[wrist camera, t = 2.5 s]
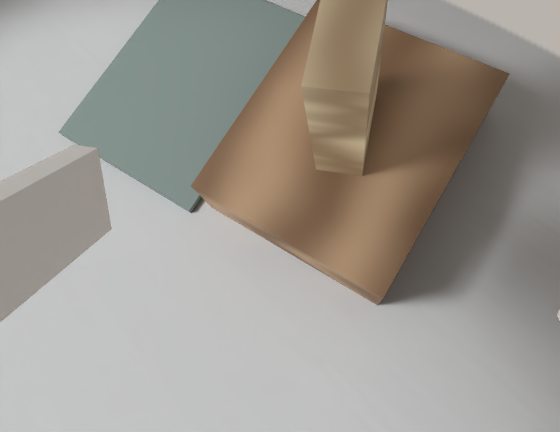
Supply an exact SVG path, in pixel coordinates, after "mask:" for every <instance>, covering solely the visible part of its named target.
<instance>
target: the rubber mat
mask: <svg viewBox="0 0 560 432" xmlns="http://www.w3.org/2000/svg"><path fill="white" fill-rule="evenodd" d="M304 19H305V17H304V16H301V15H299V14H296V13H294V12H292V11H289V10H287V9H284V8H282V7H279V6H277V5H275V4H272V3H270V2H267V1H265V0H159V1H158V2H157V3H156V5H155V6H154V7H153V9H152V10H151V11H150V13H149V14H148V15H147V16H146V18H145V19H144V20H143V22H142V23H141V24H140V26H139V27H138V28H137V30H136V31H135V32H134V34H133V35H132V36H131V38H130V39H129V40H128V41H127V43H126V44H125V45H124V47H123V48H122V49H121V51H120V52H119V53H118V55H117V56H116V57H115V59H114V60H113V61H112V63H111V64H110V65H109V66H108V68H107V69H106V70H105V72H104V73H103V74H102V76H101V77H100V78H99V80H98V81H97V82H96V84H95V85H94V86H93V88H92V89H91V90H90V91H89V93H88V94H87V95H86V97H85V98H84V99H83V101H82V102H81V103H80V105H79V106H78V107H77V109H76V110H75V111H74V113H73V114H72V115H71V116H70V118H69V119H68V120H67V122H66V123H65V124H64V126H63V127H62V128H61V130H60V131H59V133H60V134H62V135H63V136H65V137H67V138H68V139H70V140H72V141H73V142H75V143H77V144H78V145H81V146H87V147H94V148H98V152H99V157H100V158H101V159H103V160H105V161H106V162H108V163H110V164H111V165H113V166H115V167H116V168H118V169H120V170H121V171H123V172H124V173H126V174H128V175H129V176H131V177H133V178H134V179H136V180H138V181H139V182H141V183H143V184H144V185H146V186H148V187H149V188H151V189H153V190H154V191H156V192H158V193H159V194H161V195H163V196H164V197H166V198H167V199H169V200H171V201H172V202H174V203H176V204H177V205H179V206H181V207H182V208H184V209H186V210H187V211H189V212H192V211H193V209H194V208H195V206H196V205H197V203H198V202H199V200H200V199H201V196H200V195H199V194H198V193H197V192H196V191H195V190H194V189H193V188H192V187H191V185H192V183H193V182H194V180H195V179H196V177H197V176H198V174H199V173H200V171H201V170H202V168H203V167H204V165H205V164H206V163H207V161H208V160H209V158H210V157H211V155H212V154H213V152H214V151H215V149H216V148H217V146H218V145H219V143H220V142H221V141H222V139H223V138H224V136H225V135H226V133H227V132H228V130H229V129H230V127H231V126H232V124H233V123H234V121H235V120H236V118H237V117H238V116H239V114H240V113H241V111H242V110H243V108H244V107H245V105H246V104H247V102H248V101H249V99H250V98H251V96H252V95H253V93H254V92H255V91H256V89H257V88H258V86H259V85H260V83H261V82H262V80H263V79H264V77H265V76H266V74H267V73H268V71H269V70H270V69H271V67H272V66H273V64H274V63H275V61H276V60H277V58H278V57H279V55H280V54H281V52H282V51H283V49H284V48H285V46H286V45H287V44H288V42H289V41H290V39H291V38H292V36H293V35H294V33H295V32H296V30H297V29H298V27H299V26H300V24H301V23H302V22H303V20H304Z"/></svg>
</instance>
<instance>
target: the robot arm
mask: <svg viewBox="0 0 560 432" xmlns="http://www.w3.org/2000/svg"><path fill="white" fill-rule="evenodd" d="M110 230H111V223H110V217H109V211H108V205H107V199H106V194H105V188H104V182H103V176H102V170H101V164H100V158H99V152H98V148H94V147H87V146H81V145H73V146H71V147H69V148H67V149H65V150H63V151H61V152H59V153H57V154H55V155H53V156H51V157H49V158H47V159H45V160H43V161H41V162H39V163H37V164H35V165H33V166H31V167H29V168H27V169H25V170H23V171H21V172H19V173H17V174H15V175H13V176H11V177H9V178H7V179H5V180H3V181H1V182H0V322H1V321H2V320H4V319H5V318H6V317H7V316H8V315H10V314H11V313H12V312H13V311H14V310H15V309H17V308H18V307H19V306H20V305H21V304H23V303H24V302H25V301H26V300H27V299H29V298H30V297H31V296H32V295H33V294H35V293H36V292H37V291H38V290H39V289H41V288H42V287H43V286H44V285H45V284H46V283H48V282H49V281H50V280H51V279H52V278H54V277H55V276H56V275H57V274H58V273H60V272H61V271H62V270H63V269H64V268H66V267H67V266H68V265H69V264H70V263H72V262H73V261H74V260H75V259H76V258H77V257H79V256H80V255H81V254H82V253H83V252H85V251H86V250H87V249H88V248H89V247H91V246H92V245H93V244H94V243H95V242H97V241H98V240H99V239H100V238H101V237H103V236H104V235H105V234H106V233H107V232H108V231H110ZM557 317H558V319H559V322H560V309H559V311H558V313H557Z"/></svg>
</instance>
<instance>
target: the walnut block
mask: <svg viewBox="0 0 560 432" xmlns="http://www.w3.org/2000/svg"><path fill="white" fill-rule="evenodd" d="M319 4H320V0H317V1H316V2H315V4H314V5H313V7H312V8H311V10H310V11H309V13H308V14H307V16H306V17H305V19H304V20H303V22H302V23H301V24H300V26H299V27H298V29H297V30H296V32H295V33H294V35H293V36H292V38H291V39H290V41H289V42H288V44H287V45H286V46H285V48H284V49H283V51H282V52H281V54H280V55H279V57H278V58H277V60H276V61H275V63H274V64H273V66H272V67H271V69H270V70H269V71H268V73H267V74H266V76H265V77H264V79H263V80H262V82H261V83H260V85H259V86H258V88H257V89H256V91H255V92H254V93H253V95H252V96H251V98H250V99H249V101H248V102H247V104H246V105H245V107H244V108H243V110H242V111H241V113H240V114H239V116H238V117H237V118H236V120H235V121H234V123H233V124H232V126H231V127H230V129H229V130H228V132H227V133H226V135H225V136H224V138H223V139H222V141H221V142H220V143H219V145H218V146H217V148H216V149H215V151H214V152H213V154H212V155H211V157H210V158H209V160H208V161H207V163H206V164H205V165H204V167H203V168H202V170H201V171H200V173H199V174H198V176H197V177H196V179H195V180H194V182H193V183H192V185H191V187H192V188H193V189H194V190H195V191H196V192H197V193H198V194H199V195H200V196H201V197H202V198H203V199H204V200H205V201H206V202H207V203H208V204H209V205H210V206H211V207H212V208H214V209H216V210H217V211H219V212H221V213H222V214H224V215H226V216H227V217H229V218H231V219H233V220H234V221H236V222H238V223H239V224H241V225H243V226H244V227H246V228H248V229H249V230H251V231H253V232H255V233H256V234H258V235H260V236H261V237H263V238H265V239H266V240H268V241H270V242H271V243H273V244H275V245H277V246H278V247H280V248H282V249H283V250H285V251H287V252H288V253H290V254H292V255H294V256H295V257H297V258H299V259H300V260H302V261H304V262H305V263H307V264H309V265H310V266H312V267H314V268H316V269H317V270H319V271H321V272H322V273H324V274H326V275H327V276H329V277H331V278H332V279H334V280H336V281H338V282H339V283H341V284H343V285H344V286H346V287H348V288H349V289H351V290H353V291H354V292H356V293H358V294H360V295H361V296H363V297H365V298H366V299H368V300H370V301H371V302H373V303H375V304H377V305H378V304H379V303H380V302H381V301H382V299H383V298H384V296H385V294H386V292H387V291H388V289H389V287H390V285H391V284H392V282H393V280H394V278H395V277H396V275H397V273H398V271H399V269H400V268H401V266H402V264H403V262H404V261H405V259H406V257H407V255H408V253H409V252H410V250H411V248H412V246H413V245H414V243H415V241H416V239H417V237H418V236H419V234H420V232H421V230H422V229H423V227H424V225H425V223H426V221H427V220H428V218H429V216H430V214H431V213H432V211H433V209H434V207H435V205H436V204H437V202H438V200H439V198H440V197H441V195H442V193H443V191H444V189H445V188H446V186H447V184H448V182H449V181H450V179H451V177H452V175H453V173H454V172H455V170H456V168H457V166H458V165H459V163H460V161H461V159H462V157H463V156H464V154H465V152H466V150H467V149H468V147H469V145H470V143H471V141H472V140H473V138H474V136H475V134H476V133H477V131H478V129H479V127H480V125H481V124H482V122H483V120H484V118H485V117H486V115H487V113H488V111H489V109H490V108H491V106H492V104H493V102H494V101H495V99H496V97H497V95H498V93H499V92H500V90H501V88H502V86H503V85H504V83H505V81H506V79H507V77H508V76H509V73H506V72H504V71H501V70H498V69H496V68H493V67H491V66H488V65H486V64H483V63H481V62H478V61H476V60H473V59H471V58H468V57H465V56H463V55H460V54H458V53H455V52H453V51H450V50H448V49H445V48H443V47H440V46H437V45H435V44H432V43H430V42H427V41H425V40H422V39H420V38H417V37H415V36H412V35H410V34H407V33H404V32H402V31H399V30H397V29H394V28H392V27H389V26H387V25H385V27H384V36H383V44H382V53H381V61H380V70H379V79H378V87H377V95H376V101H375V107H374V112H373V118H372V124H371V130H370V135H369V141H368V147H367V153H366V158H365V164H364V170H363V175H362V176H358V175H351V174H344V173H337V172H330V171H323V170H316V166H315V161H314V155H313V150H312V144H311V139H310V133H309V128H308V122H307V117H306V111H305V106H304V100H303V95H302V89H301V84H302V80H303V75H304V71H305V66H306V62H307V57H308V53H309V49H310V44H311V40H312V35H313V31H314V26H315V22H316V17H317V13H318V9H319Z"/></svg>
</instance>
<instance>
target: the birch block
mask: <svg viewBox="0 0 560 432" xmlns="http://www.w3.org/2000/svg"><path fill="white" fill-rule="evenodd" d="M387 1H388V0H320V4H319V9H318V13H317V17H316V22H315V26H314V31H313V35H312V40H311V44H310V49H309V53H308V57H307V62H306V66H305V71H304V75H303V80H302V84H301V89H302V95H303V100H304V106H305V111H306V117H307V122H308V128H309V133H310V139H311V144H312V150H313V155H314V161H315V166H316V170H323V171H330V172H337V173H344V174H351V175H358V176H362V175H363V170H364V164H365V158H366V153H367V147H368V141H369V135H370V130H371V124H372V118H373V112H374V107H375V101H376V95H377V87H378V79H379V70H380V61H381V53H382V44H383V36H384V27H385V18H386V10H387Z"/></svg>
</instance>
